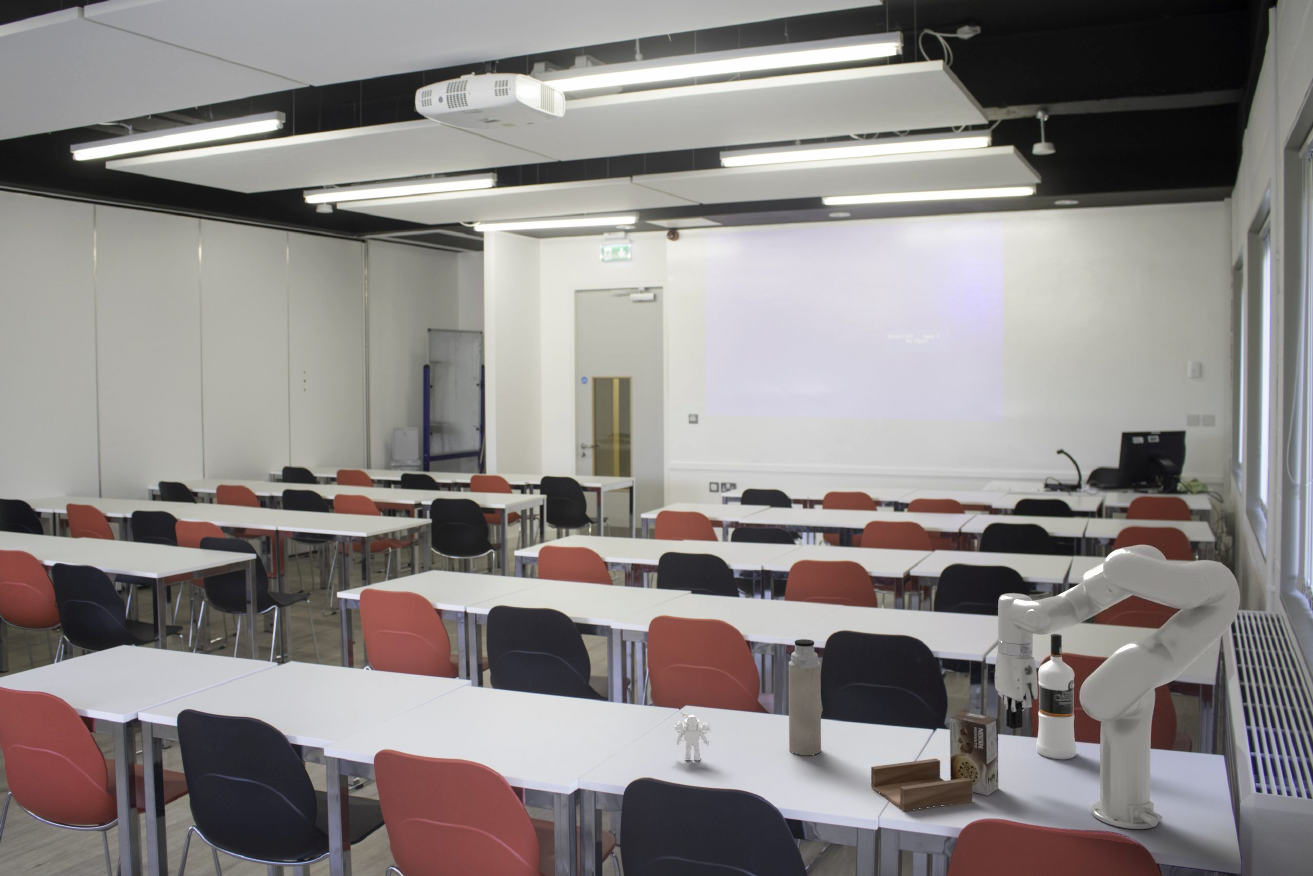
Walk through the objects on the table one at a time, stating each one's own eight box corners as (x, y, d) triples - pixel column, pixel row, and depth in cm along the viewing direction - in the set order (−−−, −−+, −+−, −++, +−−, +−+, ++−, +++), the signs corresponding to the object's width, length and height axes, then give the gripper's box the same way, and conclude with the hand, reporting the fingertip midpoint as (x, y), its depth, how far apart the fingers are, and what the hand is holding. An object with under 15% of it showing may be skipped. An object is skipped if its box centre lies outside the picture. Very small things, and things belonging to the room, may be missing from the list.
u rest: (972, 801, 214) (972, 780, 214) (903, 811, 209) (903, 789, 209) (936, 779, 228) (936, 758, 228) (871, 787, 223) (871, 766, 223)
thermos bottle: (797, 743, 253) (796, 635, 252) (825, 748, 249) (825, 639, 248) (783, 752, 246) (783, 642, 246) (813, 758, 242) (812, 645, 241)
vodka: (1051, 745, 250) (1051, 628, 249) (1084, 755, 242) (1084, 635, 241) (1028, 752, 245) (1028, 633, 244) (1061, 763, 237) (1061, 640, 236)
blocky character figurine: (673, 761, 241) (673, 713, 241) (676, 755, 245) (675, 708, 244) (710, 763, 239) (709, 714, 239) (711, 757, 243) (711, 709, 243)
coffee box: (999, 788, 222) (999, 717, 221) (987, 796, 217) (987, 724, 217) (961, 778, 228) (961, 709, 228) (948, 786, 223) (948, 716, 223)
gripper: (1050, 655, 219) (1049, 736, 219) (1008, 639, 233) (1007, 715, 234) (1022, 657, 217) (1021, 739, 217) (981, 641, 231) (980, 718, 232)
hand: (1014, 726), depth 226 cm, fingers closed
